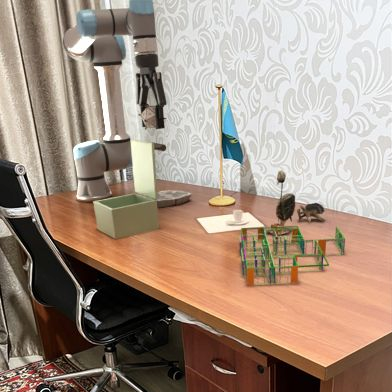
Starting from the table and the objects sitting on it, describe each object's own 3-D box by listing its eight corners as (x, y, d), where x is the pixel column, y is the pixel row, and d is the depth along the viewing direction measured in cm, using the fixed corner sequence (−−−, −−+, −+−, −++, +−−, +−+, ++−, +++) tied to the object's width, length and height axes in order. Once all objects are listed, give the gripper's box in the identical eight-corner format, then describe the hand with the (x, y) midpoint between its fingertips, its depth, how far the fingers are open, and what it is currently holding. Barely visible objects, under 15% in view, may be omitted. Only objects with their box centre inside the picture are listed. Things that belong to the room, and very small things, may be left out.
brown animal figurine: (298, 222, 175) (325, 216, 172) (295, 201, 175) (322, 196, 173) (300, 228, 182) (326, 223, 180) (297, 208, 183) (323, 203, 180)
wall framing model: (238, 243, 163) (238, 228, 160) (333, 238, 161) (334, 222, 159) (244, 286, 132) (243, 268, 130) (360, 280, 131) (362, 262, 128)
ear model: (227, 227, 179) (227, 215, 177) (221, 221, 185) (221, 209, 183) (251, 224, 180) (251, 212, 178) (245, 218, 187) (245, 207, 185)
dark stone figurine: (302, 230, 170) (304, 167, 160) (274, 237, 165) (275, 173, 155) (286, 225, 176) (288, 164, 166) (259, 232, 172) (259, 169, 162)
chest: (115, 239, 175) (111, 209, 170) (97, 229, 187) (93, 201, 182) (159, 228, 182) (156, 200, 177) (139, 219, 194) (136, 193, 189)
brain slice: (176, 195, 226) (176, 188, 225) (196, 201, 213) (196, 194, 212) (136, 203, 218) (135, 196, 216) (154, 210, 205) (153, 203, 203)
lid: (151, 143, 169) (171, 141, 172) (130, 139, 181) (149, 137, 184) (155, 199, 177) (174, 196, 180) (134, 191, 189) (153, 189, 192)
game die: (153, 141, 180) (140, 118, 171) (143, 130, 184) (130, 107, 176) (174, 125, 179) (161, 102, 171) (163, 114, 184) (151, 91, 175)
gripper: (120, 56, 175) (129, 127, 186) (152, 53, 158) (159, 131, 169) (140, 54, 178) (147, 124, 189) (173, 51, 162) (179, 128, 173)
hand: (153, 127), depth 179 cm, fingers closed on game die, 10 cm apart
